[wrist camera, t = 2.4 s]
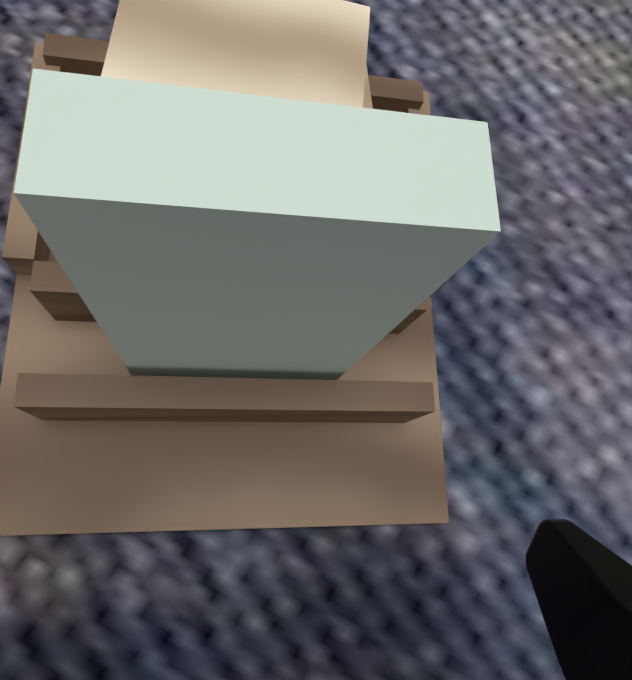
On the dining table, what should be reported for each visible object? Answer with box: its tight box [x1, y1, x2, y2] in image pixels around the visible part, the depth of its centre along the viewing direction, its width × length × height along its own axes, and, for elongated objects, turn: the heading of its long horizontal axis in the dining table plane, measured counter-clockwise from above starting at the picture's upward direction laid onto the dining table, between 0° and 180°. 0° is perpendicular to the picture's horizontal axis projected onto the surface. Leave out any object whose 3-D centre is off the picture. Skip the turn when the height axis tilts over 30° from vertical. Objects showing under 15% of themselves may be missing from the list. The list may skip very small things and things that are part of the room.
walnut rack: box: [0, 33, 449, 536], centre depth 20 cm, size 18×16×4 cm
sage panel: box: [14, 68, 501, 380], centre depth 14 cm, size 2×7×13 cm, turn 91°
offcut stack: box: [101, 0, 373, 109], centre depth 19 cm, size 7×9×7 cm
